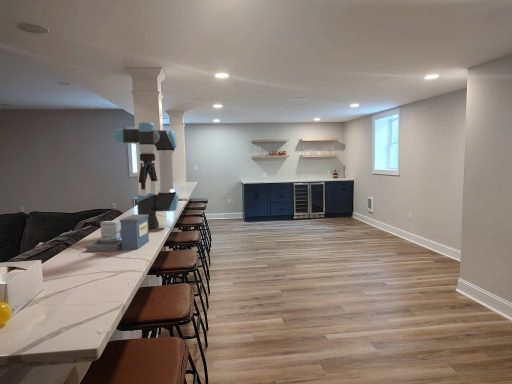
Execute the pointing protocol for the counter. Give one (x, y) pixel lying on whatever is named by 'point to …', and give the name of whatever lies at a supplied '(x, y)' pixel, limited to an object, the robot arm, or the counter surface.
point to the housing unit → (134, 231)
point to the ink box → (110, 230)
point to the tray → (105, 245)
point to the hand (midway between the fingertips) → (149, 194)
